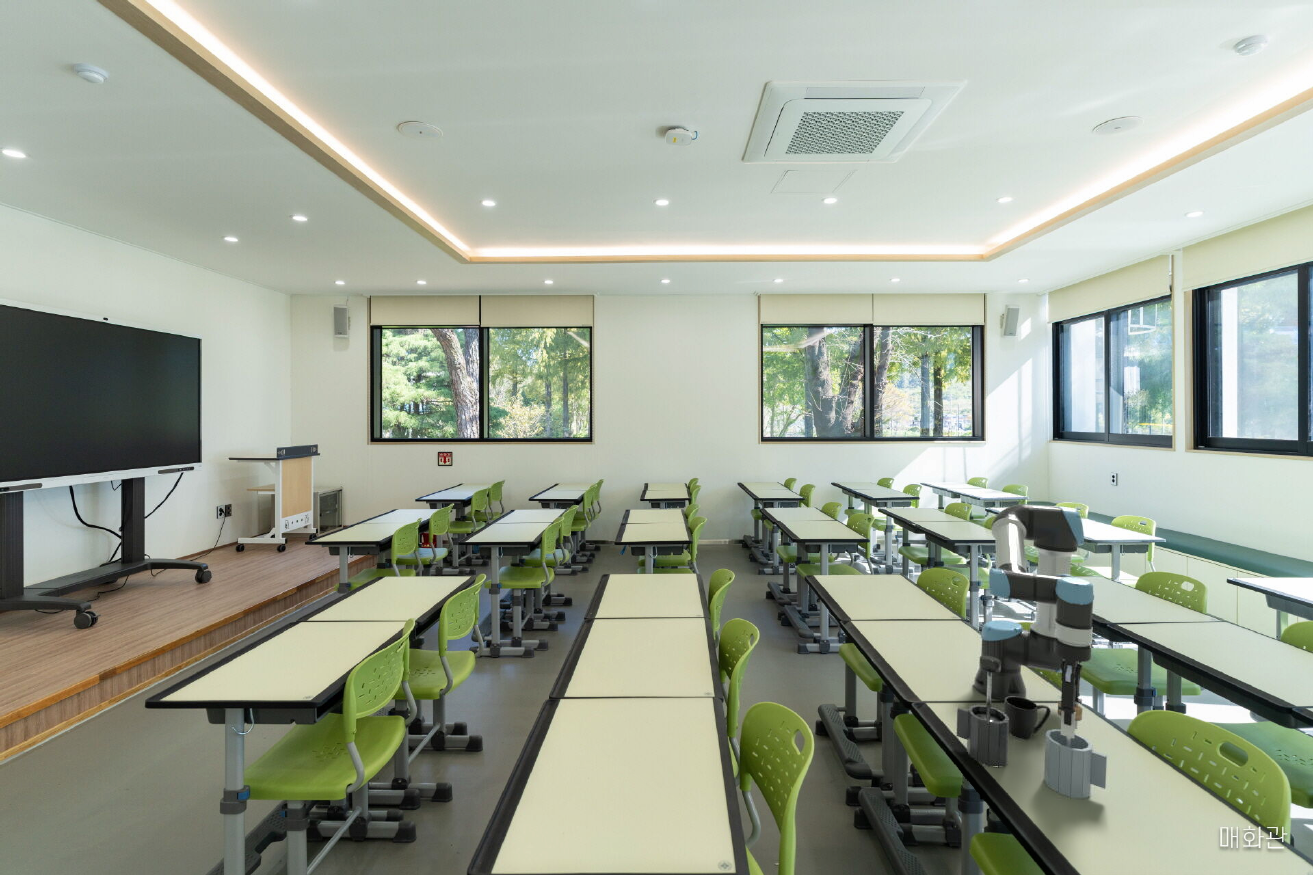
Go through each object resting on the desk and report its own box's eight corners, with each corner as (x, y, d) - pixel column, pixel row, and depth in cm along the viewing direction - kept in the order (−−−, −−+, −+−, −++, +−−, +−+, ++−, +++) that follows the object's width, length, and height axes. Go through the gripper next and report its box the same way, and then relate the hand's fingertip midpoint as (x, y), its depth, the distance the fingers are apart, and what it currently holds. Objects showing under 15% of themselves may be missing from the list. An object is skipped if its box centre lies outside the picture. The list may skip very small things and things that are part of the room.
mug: (1056, 744, 162) (1057, 712, 162) (1011, 740, 164) (1012, 708, 163) (1041, 728, 170) (1042, 697, 170) (998, 725, 172) (999, 694, 172)
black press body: (961, 738, 165) (962, 697, 164) (1010, 755, 157) (1011, 713, 156) (951, 752, 158) (953, 710, 158) (1002, 771, 150) (1004, 727, 149)
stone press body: (1047, 769, 151) (1049, 725, 150) (1106, 790, 143) (1108, 743, 142) (1041, 786, 144) (1043, 740, 143) (1103, 809, 136) (1105, 760, 135)
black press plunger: (978, 713, 160) (980, 652, 160) (1004, 722, 156) (1006, 659, 155) (972, 722, 156) (974, 659, 155) (998, 731, 151) (1000, 666, 151)
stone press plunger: (1054, 762, 149) (1056, 697, 148) (1084, 773, 144) (1087, 705, 144) (1050, 774, 144) (1052, 706, 143) (1081, 785, 140) (1084, 715, 139)
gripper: (1059, 627, 152) (1056, 712, 153) (1048, 647, 138) (1045, 740, 140) (1095, 634, 147) (1091, 722, 148) (1087, 656, 133) (1083, 752, 134)
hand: (1069, 731), depth 144 cm, fingers closed on stone press plunger, 5 cm apart
